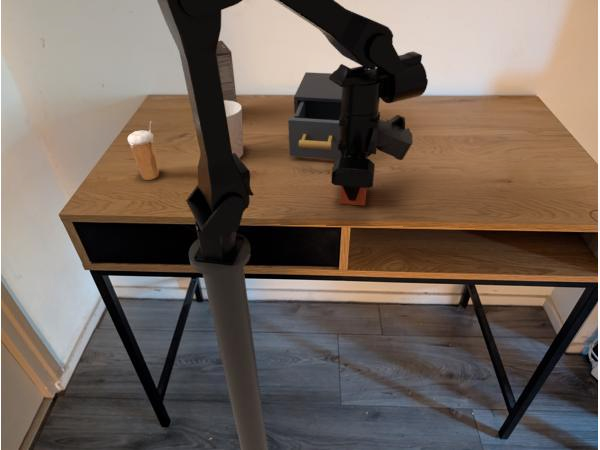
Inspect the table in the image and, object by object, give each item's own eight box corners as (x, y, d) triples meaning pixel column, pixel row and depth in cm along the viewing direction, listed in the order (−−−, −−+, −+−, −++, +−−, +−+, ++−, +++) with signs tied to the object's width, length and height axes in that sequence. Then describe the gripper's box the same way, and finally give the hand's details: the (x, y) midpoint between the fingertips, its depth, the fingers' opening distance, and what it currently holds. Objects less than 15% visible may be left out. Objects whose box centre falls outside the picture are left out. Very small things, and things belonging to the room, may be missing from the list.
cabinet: (352, 142, 93) (355, 99, 87) (295, 138, 95) (293, 96, 89) (357, 114, 104) (360, 74, 98) (305, 111, 106) (305, 72, 100)
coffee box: (205, 110, 107) (194, 42, 97) (230, 106, 109) (222, 39, 99) (212, 125, 100) (201, 54, 90) (239, 121, 102) (231, 50, 92)
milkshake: (170, 171, 85) (159, 124, 78) (150, 184, 81) (137, 136, 75) (154, 165, 86) (141, 118, 80) (133, 178, 83) (119, 130, 77)
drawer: (344, 171, 82) (346, 133, 77) (285, 166, 84) (283, 129, 79) (351, 129, 96) (353, 95, 91) (301, 126, 97) (300, 93, 92)
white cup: (252, 157, 89) (248, 111, 82) (216, 167, 85) (209, 120, 79) (237, 141, 94) (231, 97, 88) (202, 151, 91) (194, 105, 85)
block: (364, 205, 74) (367, 184, 72) (339, 203, 75) (340, 182, 72) (366, 191, 78) (368, 170, 75) (341, 189, 78) (343, 168, 76)
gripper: (415, 140, 58) (400, 230, 67) (411, 88, 72) (399, 169, 82) (332, 134, 59) (329, 223, 69) (345, 85, 74) (341, 164, 83)
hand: (353, 192), depth 76 cm, fingers closed on block, 4 cm apart
